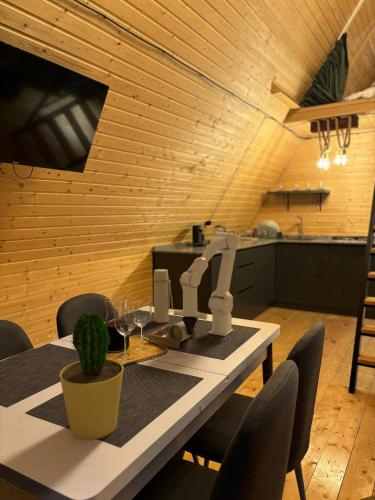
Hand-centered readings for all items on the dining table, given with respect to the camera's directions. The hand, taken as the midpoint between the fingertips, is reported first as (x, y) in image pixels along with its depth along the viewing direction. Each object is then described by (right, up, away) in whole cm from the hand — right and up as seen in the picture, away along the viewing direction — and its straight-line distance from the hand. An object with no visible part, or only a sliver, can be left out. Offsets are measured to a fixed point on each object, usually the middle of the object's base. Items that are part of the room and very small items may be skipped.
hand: (190, 334), depth 156 cm
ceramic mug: (-5, -3, +3) cm, 7 cm away
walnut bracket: (-7, -3, +4) cm, 9 cm away
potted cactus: (-25, -10, -59) cm, 65 cm away
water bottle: (-13, 0, +30) cm, 32 cm away
